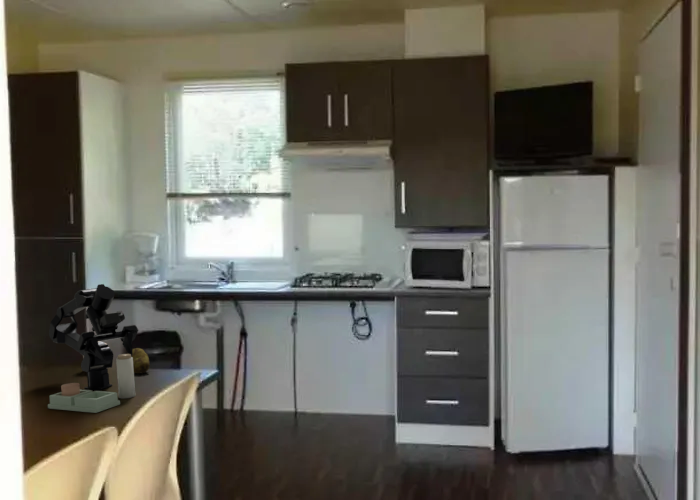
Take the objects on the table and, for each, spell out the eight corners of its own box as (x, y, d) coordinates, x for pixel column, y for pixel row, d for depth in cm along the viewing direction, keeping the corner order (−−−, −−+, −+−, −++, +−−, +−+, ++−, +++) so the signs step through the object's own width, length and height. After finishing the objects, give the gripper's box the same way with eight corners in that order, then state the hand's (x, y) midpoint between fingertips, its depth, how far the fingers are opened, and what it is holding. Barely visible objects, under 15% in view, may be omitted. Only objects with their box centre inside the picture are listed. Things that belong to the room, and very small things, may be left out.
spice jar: (115, 397, 252) (112, 356, 251) (126, 394, 257) (123, 353, 256) (127, 398, 250) (124, 357, 249) (138, 394, 254) (135, 353, 254)
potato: (125, 376, 284) (123, 353, 283) (128, 369, 296) (126, 347, 296) (149, 374, 285) (148, 351, 285) (151, 367, 298) (150, 345, 298)
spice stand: (48, 408, 243) (46, 387, 243) (73, 400, 252) (71, 380, 252) (95, 412, 235) (94, 391, 234) (120, 404, 243) (118, 383, 243)
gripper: (78, 307, 252) (96, 346, 245) (133, 300, 265) (152, 336, 257) (69, 330, 259) (87, 368, 251) (123, 322, 271) (142, 358, 264)
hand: (118, 357), depth 256 cm, fingers open, 9 cm apart
